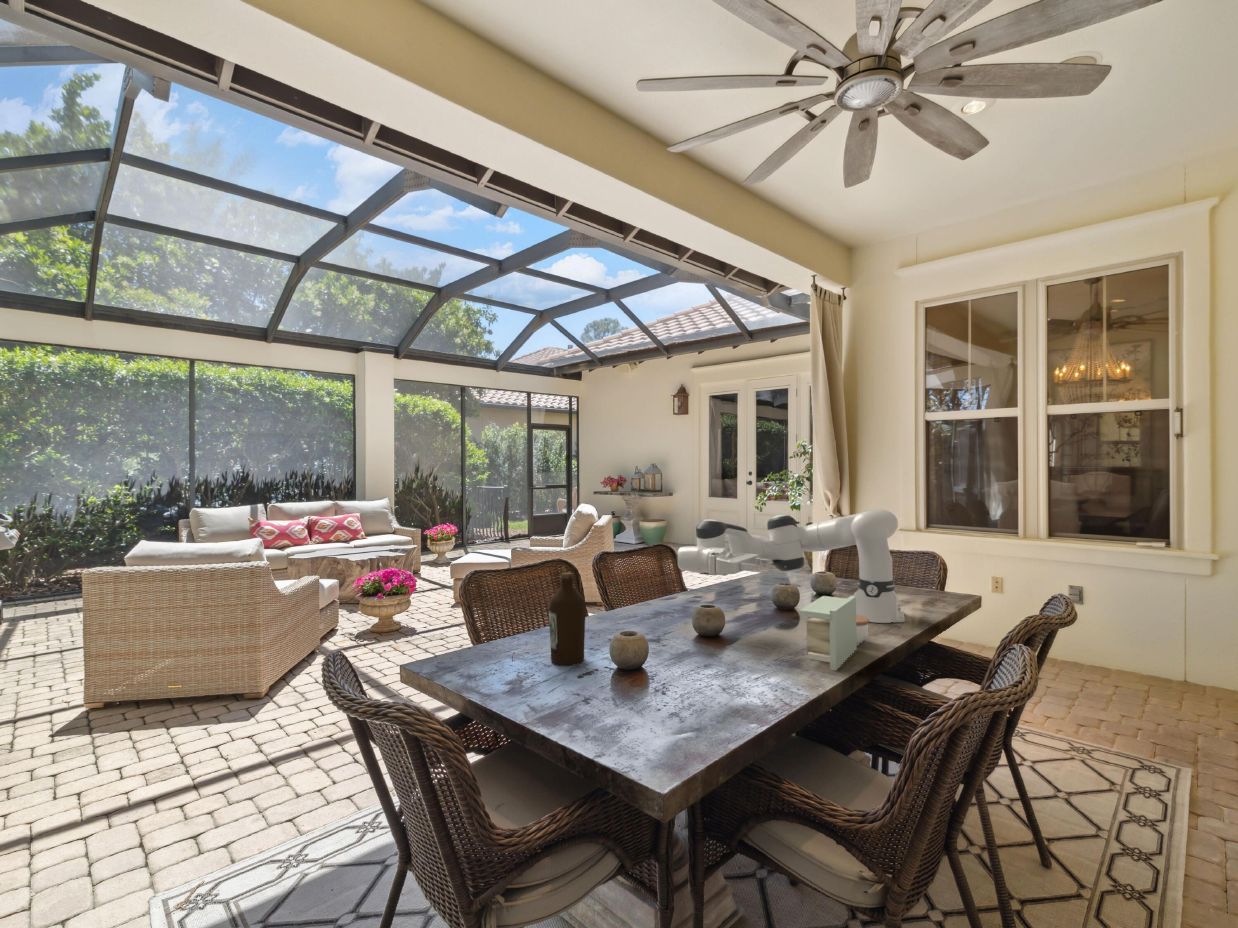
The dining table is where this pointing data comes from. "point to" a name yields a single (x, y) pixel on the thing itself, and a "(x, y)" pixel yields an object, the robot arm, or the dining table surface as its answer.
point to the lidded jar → (861, 628)
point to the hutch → (835, 627)
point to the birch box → (818, 636)
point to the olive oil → (567, 624)
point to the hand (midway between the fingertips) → (762, 565)
